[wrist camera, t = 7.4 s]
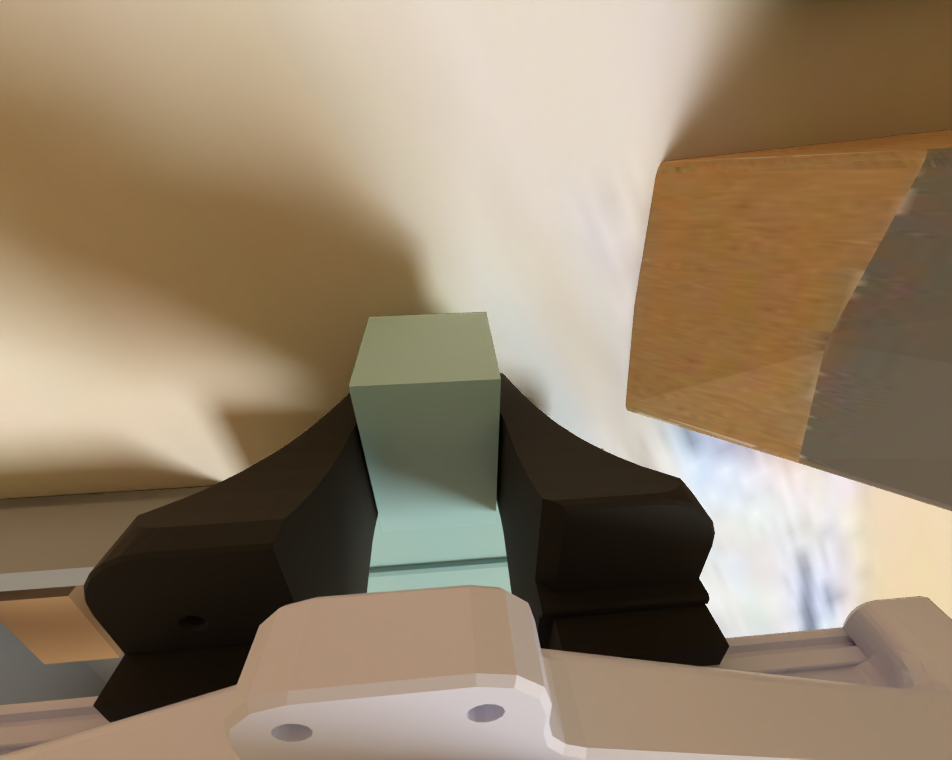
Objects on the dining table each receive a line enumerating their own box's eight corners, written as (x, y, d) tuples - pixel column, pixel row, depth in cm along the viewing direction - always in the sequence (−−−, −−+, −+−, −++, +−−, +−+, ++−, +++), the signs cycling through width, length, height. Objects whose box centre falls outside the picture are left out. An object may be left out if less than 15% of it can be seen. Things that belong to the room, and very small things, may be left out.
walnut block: (148, 612, 18) (119, 657, 16) (79, 618, 17) (44, 664, 16) (105, 551, 16) (68, 596, 14) (27, 557, 15) (-19, 602, 14)
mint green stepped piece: (551, 634, 22) (565, 701, 20) (355, 651, 22) (345, 723, 19) (628, 306, 11) (684, 369, 8) (214, 323, 10) (145, 396, 8)
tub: (309, 676, 22) (290, 752, 19) (115, 694, 21) (67, 775, 19) (227, 485, 15) (180, 560, 12) (-62, 503, 14) (-180, 587, 12)
